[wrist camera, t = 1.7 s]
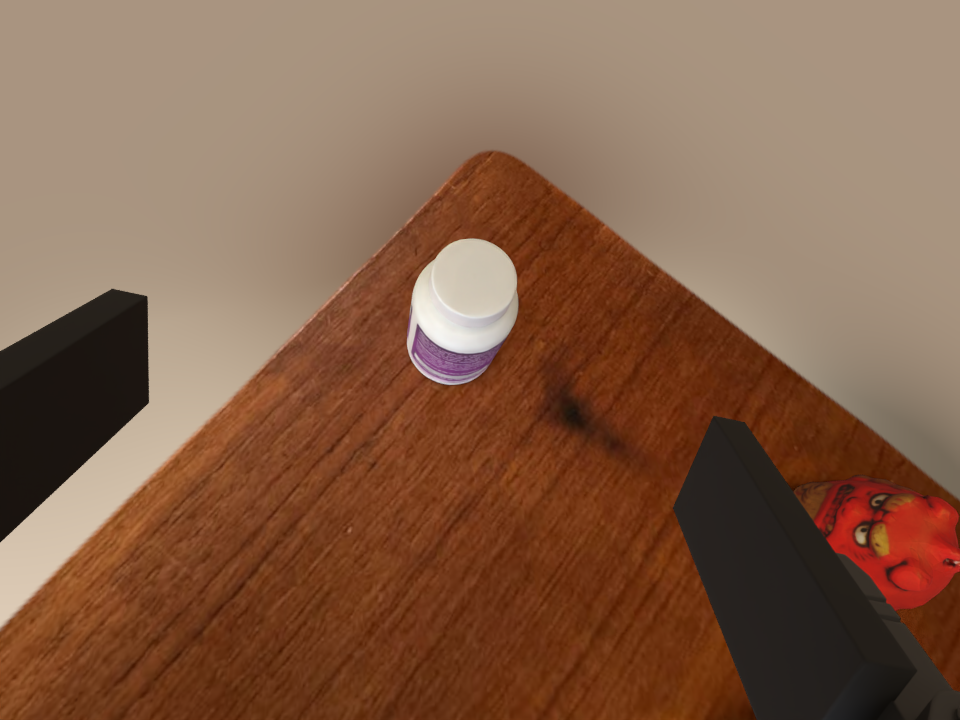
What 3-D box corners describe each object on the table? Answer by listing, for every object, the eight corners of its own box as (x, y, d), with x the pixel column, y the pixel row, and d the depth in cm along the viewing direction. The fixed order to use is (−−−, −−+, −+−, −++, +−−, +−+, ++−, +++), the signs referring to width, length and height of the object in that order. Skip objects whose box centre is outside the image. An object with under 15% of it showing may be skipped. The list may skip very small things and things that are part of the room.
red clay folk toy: (784, 459, 38) (1024, 411, 24) (879, 524, 38) (1177, 514, 24) (733, 567, 36) (968, 584, 22) (834, 637, 36) (1138, 700, 22)
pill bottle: (508, 368, 37) (552, 311, 28) (426, 399, 36) (444, 350, 27) (473, 289, 38) (504, 210, 29) (392, 317, 37) (398, 243, 28)
